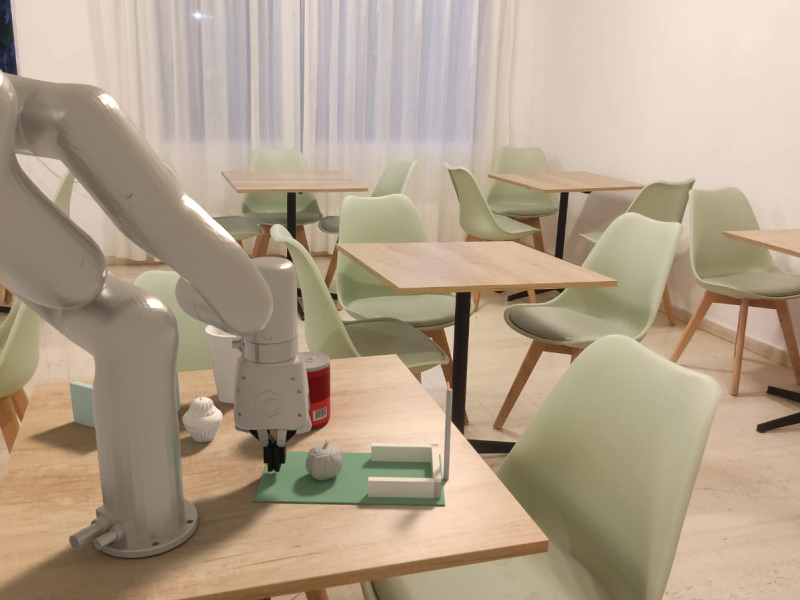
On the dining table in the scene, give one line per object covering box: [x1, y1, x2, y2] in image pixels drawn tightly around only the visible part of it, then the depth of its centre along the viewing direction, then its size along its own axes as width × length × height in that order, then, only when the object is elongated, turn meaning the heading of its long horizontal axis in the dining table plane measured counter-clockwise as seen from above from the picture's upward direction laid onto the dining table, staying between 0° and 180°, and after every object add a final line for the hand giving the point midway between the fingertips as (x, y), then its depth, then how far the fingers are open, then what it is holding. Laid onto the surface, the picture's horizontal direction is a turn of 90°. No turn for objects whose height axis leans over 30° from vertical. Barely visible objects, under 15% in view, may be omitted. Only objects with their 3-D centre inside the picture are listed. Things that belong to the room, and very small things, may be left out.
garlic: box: [306, 438, 343, 481], centre depth 105 cm, size 6×5×5 cm
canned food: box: [298, 351, 331, 431], centre depth 122 cm, size 8×8×11 cm
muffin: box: [181, 396, 224, 443], centre depth 116 cm, size 6×6×7 cm
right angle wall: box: [69, 370, 181, 429], centre depth 124 cm, size 12×12×8 cm
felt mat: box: [252, 450, 446, 507], centre depth 106 cm, size 26×14×1 cm, turn 90°
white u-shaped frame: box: [368, 381, 453, 498], centre depth 104 cm, size 11×11×14 cm
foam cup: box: [204, 325, 242, 404], centre depth 131 cm, size 10×9×13 cm
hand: (275, 467), depth 106 cm, fingers closed
